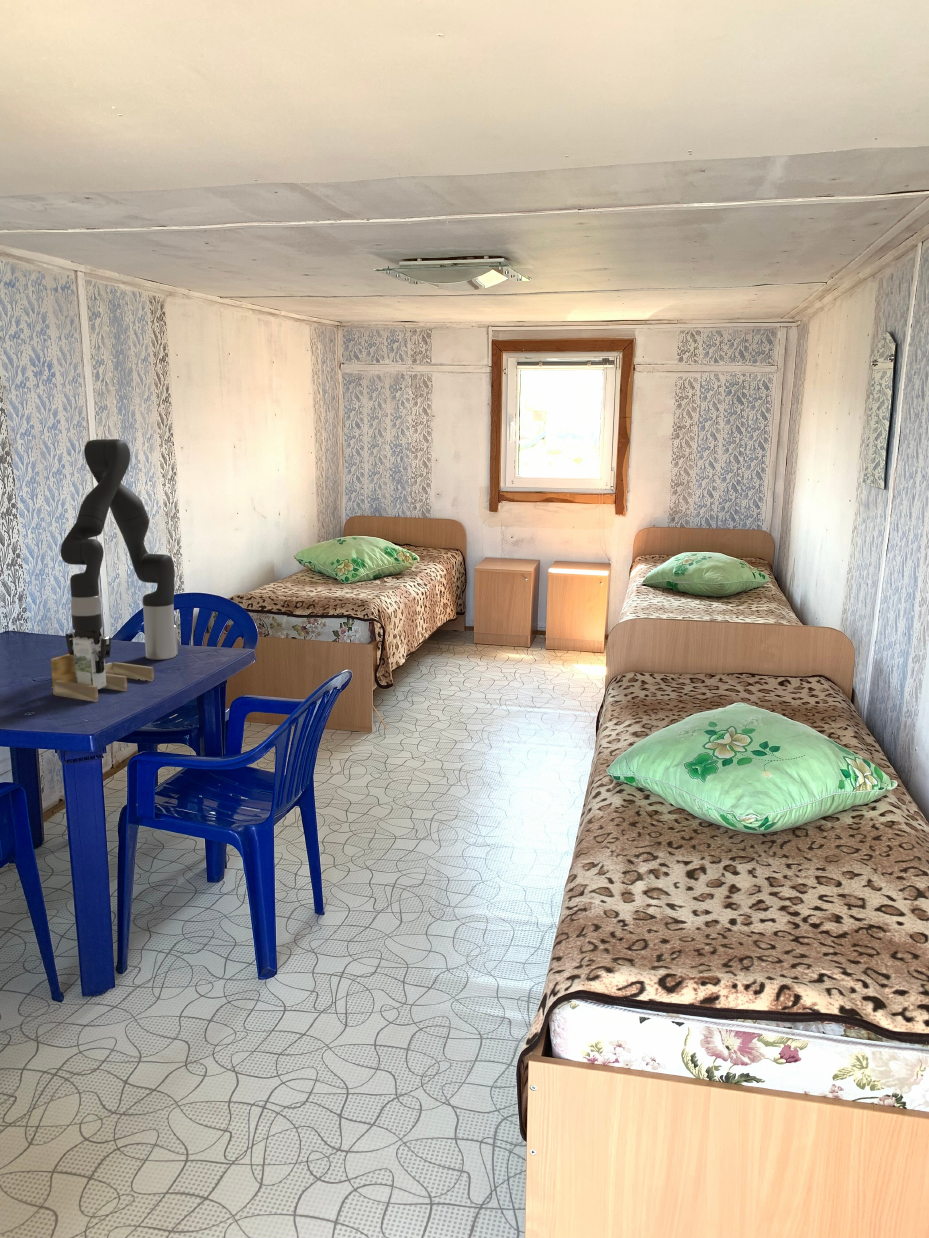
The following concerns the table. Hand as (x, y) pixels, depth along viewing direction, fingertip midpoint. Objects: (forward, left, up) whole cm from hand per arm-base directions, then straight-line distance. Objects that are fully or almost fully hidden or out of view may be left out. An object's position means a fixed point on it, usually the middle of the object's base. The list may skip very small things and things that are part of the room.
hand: (90, 671), depth 244 cm
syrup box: (0, 0, -5) cm, 5 cm away
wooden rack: (-5, 0, -6) cm, 8 cm away
